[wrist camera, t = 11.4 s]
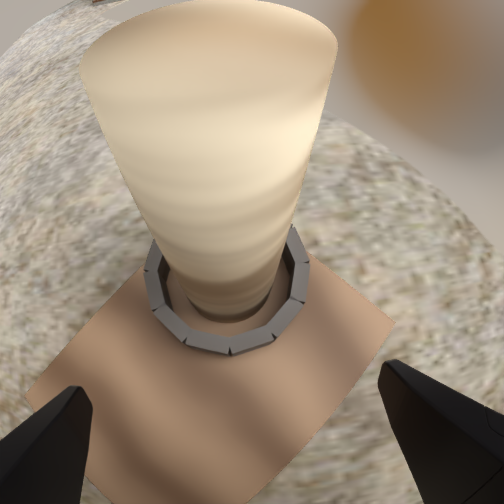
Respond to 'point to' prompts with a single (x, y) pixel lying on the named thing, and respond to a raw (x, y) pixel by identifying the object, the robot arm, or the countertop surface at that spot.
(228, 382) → the stool seat
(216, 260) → the stool leg
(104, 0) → the display case
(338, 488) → the countertop surface
